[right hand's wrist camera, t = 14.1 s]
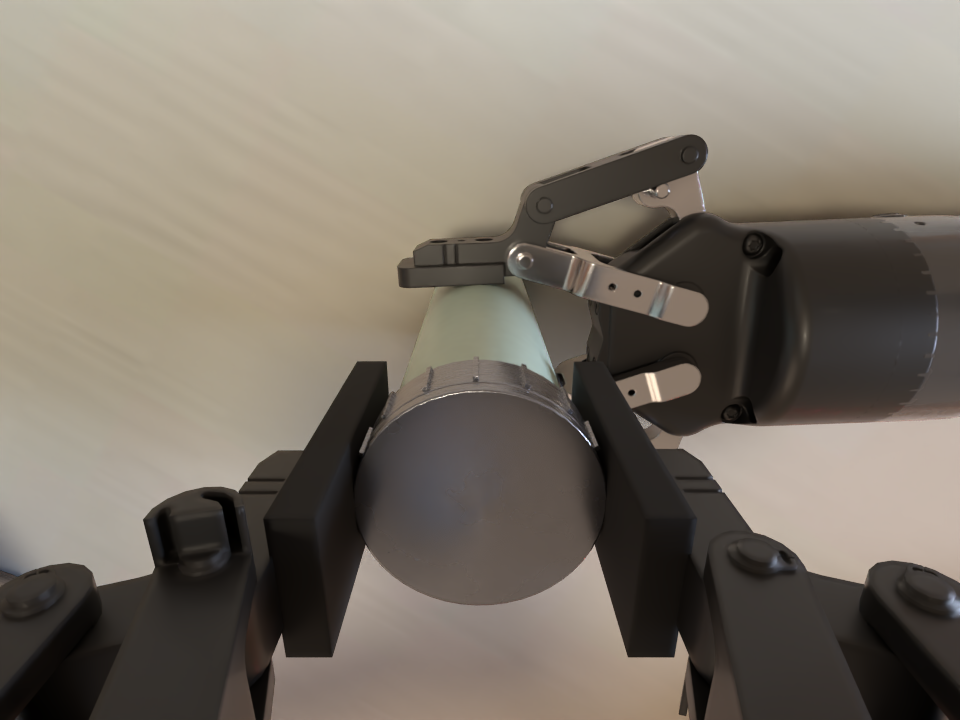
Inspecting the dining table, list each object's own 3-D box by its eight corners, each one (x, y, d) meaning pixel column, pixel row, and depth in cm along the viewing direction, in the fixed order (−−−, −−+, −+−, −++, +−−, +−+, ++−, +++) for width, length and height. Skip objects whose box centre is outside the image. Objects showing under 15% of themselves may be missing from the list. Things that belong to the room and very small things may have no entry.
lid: (635, 485, 12) (657, 531, 11) (456, 587, 13) (453, 643, 12) (508, 309, 11) (514, 334, 9) (319, 439, 12) (295, 481, 10)
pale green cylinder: (472, 356, 27) (461, 603, 12) (416, 288, 26) (327, 468, 11) (543, 304, 26) (627, 503, 11) (488, 231, 25) (502, 344, 10)
